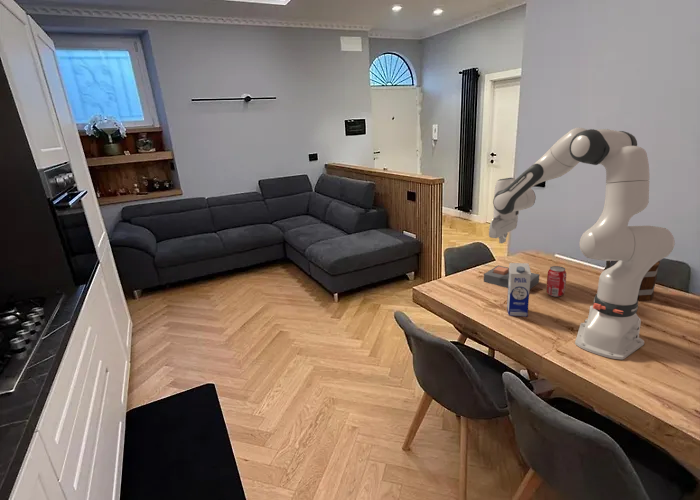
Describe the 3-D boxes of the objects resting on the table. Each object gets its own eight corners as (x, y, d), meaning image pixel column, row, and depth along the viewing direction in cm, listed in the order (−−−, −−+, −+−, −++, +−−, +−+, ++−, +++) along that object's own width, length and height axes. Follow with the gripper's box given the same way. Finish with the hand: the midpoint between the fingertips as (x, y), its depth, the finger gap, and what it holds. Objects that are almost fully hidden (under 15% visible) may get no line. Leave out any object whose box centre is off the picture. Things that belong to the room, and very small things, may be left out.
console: (525, 292, 165) (526, 284, 164) (483, 281, 180) (483, 273, 178) (538, 282, 174) (539, 274, 173) (497, 272, 188) (498, 265, 187)
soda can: (560, 290, 165) (562, 265, 161) (567, 297, 158) (570, 271, 154) (543, 291, 166) (545, 265, 162) (549, 298, 159) (552, 271, 155)
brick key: (503, 277, 176) (503, 271, 175) (493, 275, 180) (493, 269, 179) (508, 274, 179) (508, 268, 178) (498, 272, 183) (498, 266, 182)
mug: (662, 296, 153) (669, 262, 148) (639, 304, 148) (646, 269, 143) (614, 280, 170) (618, 249, 165) (592, 286, 166) (597, 254, 161)
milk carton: (525, 308, 152) (528, 262, 146) (527, 316, 146) (531, 269, 140) (506, 307, 154) (509, 262, 148) (508, 315, 148) (511, 268, 142)
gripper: (499, 219, 161) (497, 249, 166) (520, 209, 174) (518, 238, 178) (485, 217, 166) (484, 247, 170) (507, 208, 179) (506, 236, 183)
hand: (502, 242), depth 174 cm, fingers closed
